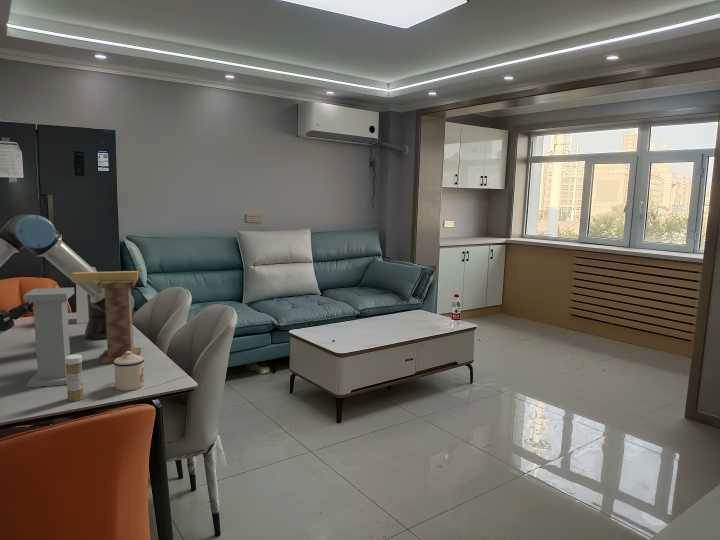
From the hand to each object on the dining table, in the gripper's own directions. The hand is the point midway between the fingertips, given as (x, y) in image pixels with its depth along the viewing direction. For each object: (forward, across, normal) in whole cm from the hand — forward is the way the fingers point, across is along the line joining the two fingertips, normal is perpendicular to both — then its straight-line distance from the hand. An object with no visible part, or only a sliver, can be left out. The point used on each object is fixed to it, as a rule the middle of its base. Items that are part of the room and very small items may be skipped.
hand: (53, 292), depth 189 cm
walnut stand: (+5, 0, -33) cm, 34 cm away
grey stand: (-10, +20, -24) cm, 33 cm away
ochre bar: (+17, 0, -5) cm, 18 cm away
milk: (-14, -68, -23) cm, 73 cm away
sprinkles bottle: (-2, +40, -30) cm, 50 cm away
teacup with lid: (+11, +32, -37) cm, 50 cm away
